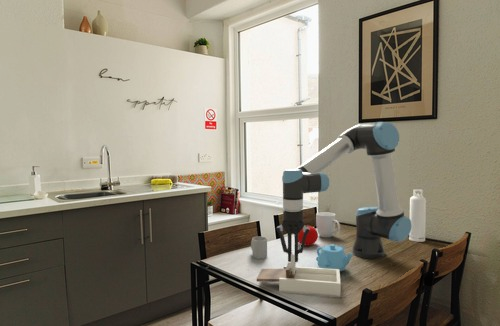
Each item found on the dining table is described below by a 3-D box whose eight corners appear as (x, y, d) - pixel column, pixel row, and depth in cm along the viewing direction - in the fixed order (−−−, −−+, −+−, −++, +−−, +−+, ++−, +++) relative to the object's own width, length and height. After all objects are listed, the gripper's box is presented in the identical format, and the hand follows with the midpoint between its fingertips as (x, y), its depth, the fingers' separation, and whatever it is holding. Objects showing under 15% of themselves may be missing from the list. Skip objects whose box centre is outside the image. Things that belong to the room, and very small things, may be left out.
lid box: (339, 282, 138) (339, 269, 138) (340, 297, 125) (340, 283, 124) (284, 277, 143) (284, 265, 143) (279, 292, 130) (279, 278, 129)
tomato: (321, 244, 187) (321, 225, 187) (305, 249, 180) (305, 229, 180) (307, 240, 197) (307, 221, 196) (290, 243, 190) (290, 224, 189)
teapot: (354, 276, 143) (354, 249, 143) (321, 277, 143) (321, 250, 142) (343, 263, 159) (343, 239, 158) (313, 264, 158) (313, 240, 157)
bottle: (425, 238, 196) (427, 189, 194) (424, 242, 189) (425, 191, 187) (410, 236, 200) (411, 188, 198) (408, 240, 194) (409, 190, 192)
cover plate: (296, 271, 140) (295, 261, 140) (293, 281, 130) (292, 271, 129) (261, 270, 143) (261, 261, 143) (256, 281, 133) (255, 271, 133)
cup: (258, 260, 165) (258, 241, 164) (245, 254, 173) (245, 237, 172) (270, 256, 169) (270, 238, 169) (257, 251, 177) (257, 234, 177)
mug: (344, 237, 202) (345, 214, 201) (334, 241, 194) (334, 217, 193) (323, 232, 212) (323, 211, 211) (312, 236, 205) (312, 214, 204)
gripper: (310, 208, 136) (310, 267, 137) (277, 207, 138) (277, 265, 140) (309, 212, 128) (309, 274, 130) (274, 211, 131) (275, 272, 133)
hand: (293, 269), depth 135 cm, fingers closed
